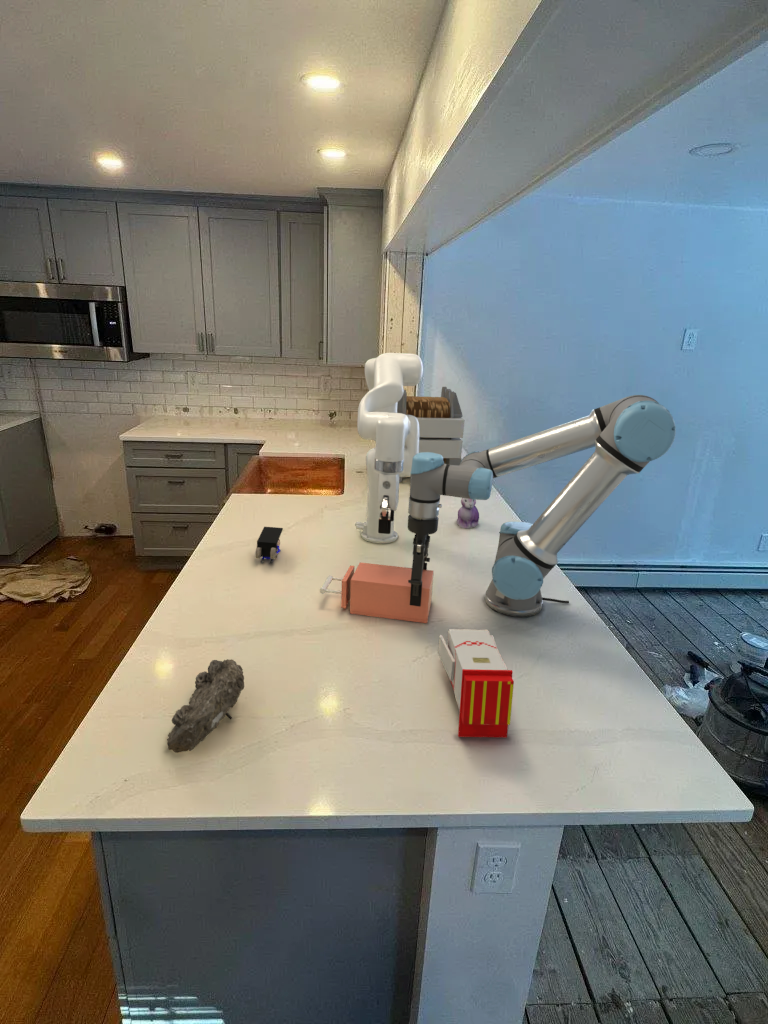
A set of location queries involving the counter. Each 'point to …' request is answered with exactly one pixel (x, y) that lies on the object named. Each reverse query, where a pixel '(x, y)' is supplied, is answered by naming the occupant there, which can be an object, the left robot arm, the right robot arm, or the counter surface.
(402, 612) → the cabinet
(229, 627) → the counter surface
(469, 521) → the figurine
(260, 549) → the figurine character
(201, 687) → the fossil
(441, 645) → the toy
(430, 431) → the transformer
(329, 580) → the drawer
